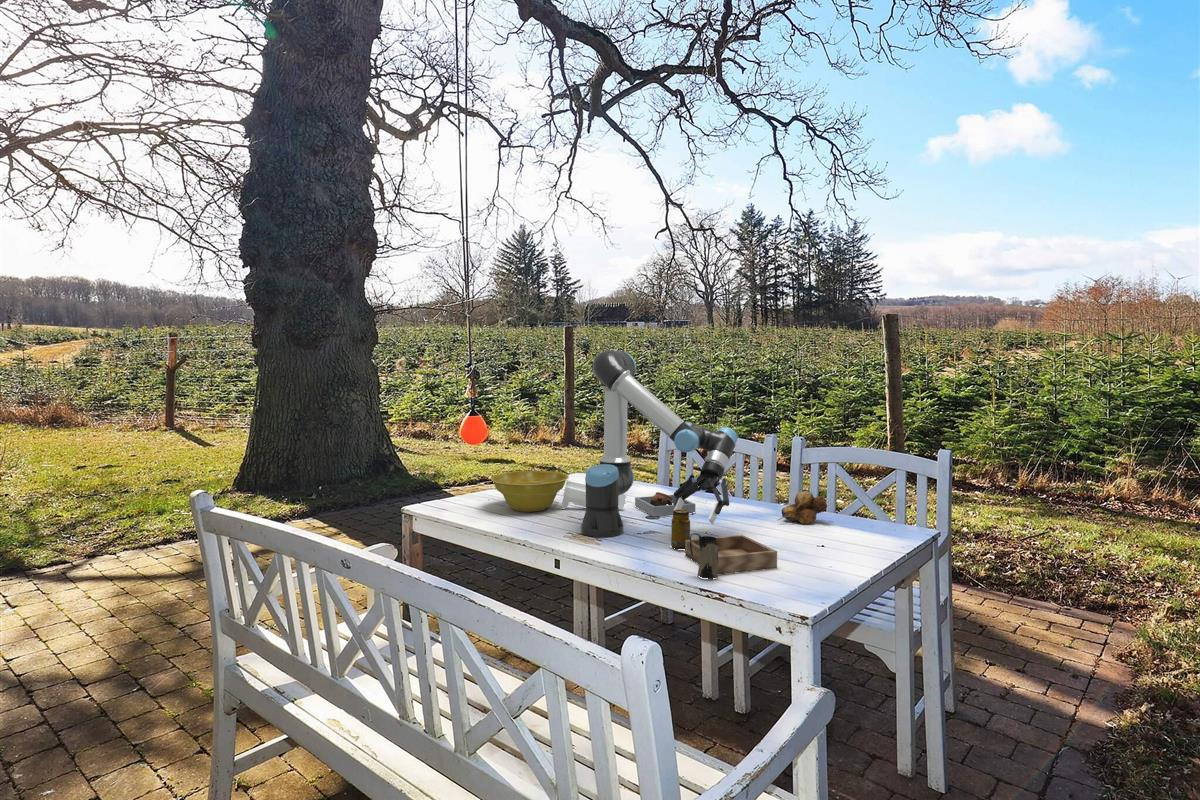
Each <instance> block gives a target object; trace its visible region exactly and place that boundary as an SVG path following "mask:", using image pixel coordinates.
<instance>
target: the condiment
mask: <svg viewBox="0 0 1200 800" xmlns="http://www.w3.org/2000/svg"><path fill="white" fill-rule="evenodd" d="M690 536H691V519H690V514H689V511H687V510H674V511H673V516H672V518H671V539H670V540H671V543H670V544H667V545H668V546H669V545H671V546H672V548H673V549H672V548H671V549H672V550H675V551H676V552H680V553H681V552H683V553H684V551H683V550H676V549H685V540H690ZM669 547H670V546H669ZM669 547H668V548H669ZM674 548H675V549H674Z"/></svg>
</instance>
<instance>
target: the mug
mask: <svg viewBox="0 0 1200 800" xmlns="http://www.w3.org/2000/svg"><path fill="white" fill-rule="evenodd" d="M693 535H696V536H698V539H699V564H698V571H697V577H698V576H700V577H702V578H708V579H713V578H716V577H717V578H718V576H719V575H718V545H717V538H715V536H710V535H703V536H702V535H701V534H700V533H697V532H693V533H692V534H690V550H691V555H692V557H693V558H698V557H694V556H693V553H692V541H691V540H692V536H693Z"/></svg>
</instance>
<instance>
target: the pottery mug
mask: <svg viewBox="0 0 1200 800" xmlns="http://www.w3.org/2000/svg"><path fill="white" fill-rule="evenodd" d="M668 495H669V494H665V493H663V492H655V494H654V495H652V496H653V497H652V498H651V501H650V504H651V505H653V506H667V505H666V504H668V505H672V498H671V497H670V496H668Z"/></svg>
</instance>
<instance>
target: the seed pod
mask: <svg viewBox="0 0 1200 800" xmlns="http://www.w3.org/2000/svg"><path fill="white" fill-rule="evenodd" d="M827 508H828V504H827V499H826V498H825V497H824V495H820V496H818V495H816V497H815V496H814V494H813V493H812V492H810V491H808V490H804V491H799V492H797V494H796V495H795V497H794V503H792V504H789V505H786V506H784V507H782V509H781V510H780V511H781V517H780V518H778V519H777V520H776V521H780V520H782V519H785V520H788V521H792V522H795V521H798V522H800V524H803V525H804V524H807V525H808V524H813V523H814V522H815V521H816V520H817V514H821V513H824V512H825V511H826V509H827Z"/></svg>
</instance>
